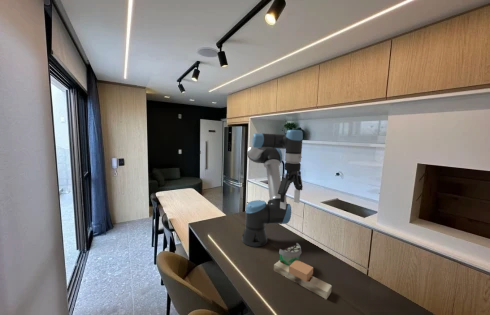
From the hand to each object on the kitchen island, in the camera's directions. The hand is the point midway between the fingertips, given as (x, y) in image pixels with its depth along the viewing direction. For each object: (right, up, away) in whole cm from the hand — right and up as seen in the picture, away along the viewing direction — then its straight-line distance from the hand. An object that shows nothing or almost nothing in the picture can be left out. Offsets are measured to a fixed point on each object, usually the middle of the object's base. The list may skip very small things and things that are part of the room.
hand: (290, 205), depth 99 cm
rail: (+2, -30, -12) cm, 32 cm away
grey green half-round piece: (0, -30, -4) cm, 30 cm away
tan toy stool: (+2, -30, -12) cm, 32 cm away
